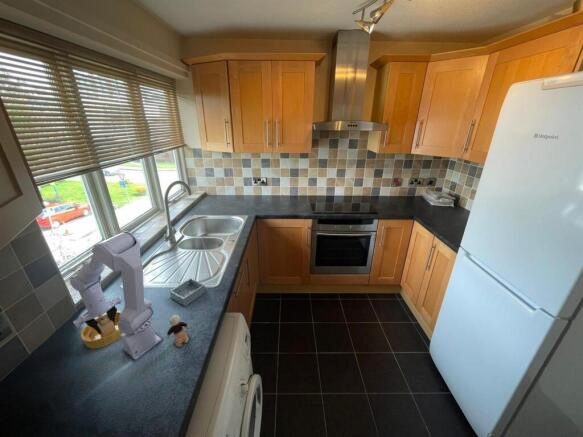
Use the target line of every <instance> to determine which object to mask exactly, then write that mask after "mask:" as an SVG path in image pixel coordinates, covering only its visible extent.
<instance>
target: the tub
mask: <svg viewBox="0 0 583 437" xmlns="http://www.w3.org/2000/svg"><path fill="white" fill-rule="evenodd" d="M206 292H207V290H206V285H205V284H203V283H201V282H199V281H198V280H196V279H194V278H191V277H189V279H187V280H185V281H184V282H182V283H180V284H179V285H177V286H175V287H173V288H172V289H170V290H169V294H170V298H171V299H172V300H174V301H176V302H177V303H178V304H181V305H182V306H184V307H186V306H188V305H190V304H191V303H192V302H193V301H195V300H197V299H198V298H200V296H202V295H203V294H205V293H206Z"/></svg>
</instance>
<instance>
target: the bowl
mask: <svg viewBox="0 0 583 437" xmlns="http://www.w3.org/2000/svg"><path fill="white" fill-rule="evenodd" d="M121 312H122V310H121V311H120V310H117V312H116V315H115V325H114V326H115V328H116V331H115V332H113V333H112V334H110V335H108V336H106V337H103V336H102V335H101V334H99V333H98V332H97V331H96V330H95V329H94V328H92V327H90V326H88V325H87V324H86V325H85V326H84V327H83V328H82V330H81V332H80V338H81V341H82V342H83V345H85V347H87V348H89V349H100V348H105V347H107V346H109V345H111V344H114V343H115V342H117V341H118V340H120V336H121V335H122V334H123V332H121V331H120V330H119V328H118V324H117V323H118V321H119V315H120V314H121ZM103 315H107V313H104V314H103ZM107 316H108V315H107ZM98 318H99V317H95V318H94V319H95V320H96V321H97V319H98Z"/></svg>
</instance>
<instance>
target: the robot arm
mask: <svg viewBox="0 0 583 437" xmlns="http://www.w3.org/2000/svg"><path fill="white" fill-rule="evenodd" d="M91 252H92V256H91V258H89V259H86V260H84V261H82V263H81V264H82V266H81V267H80V268H79V269H78V272H77V273H76V274H75V275H72V276H70V277H69V283H70V286H71V287H72V288H73V289H74V290H75V291H78V293H79V295H80V298H81V300H82V302H83V304H84V307H85V308H86V312H85V313H84V314H82V315H80V317H78V318H77V319H75V320H73V321H72V323H73V325H74V327H76V329H78V328H80V327H81V326H82V325H84V324H86V325H88V326H90V327H92V328H94V329H95V330H96V331H97V332H98V333H99V334H101V330H100V328H99V326H98V323H97V321H96V320H95V318H97V317H98V316H101V315H103V314H106V313H107V315H108V318H109V319H110V320H111V321H113V323H114V325H115V315H116V312H117V311H118V309H117V307H116V306H117V305H121V304H123V302H124V308H123V309H122V310H121V314H120V315H119V321H118V323H117V324H118V328H119V330H120V331H121V332H123V334H122V335H121V336H120V338H119V340H120V341H121V344H122V346H123V350H124V351H125V352H126V353H127V354H128V355H129V356H130V357H132V359H134V360H138V359H139V358H140V357H142V356H143V355H145V354H146V353H147V352H148V351H149V350H151V349H152V348H153V347H155V346H156V345H157V344H158V343H160V342H161V341H162V338H161V337H160V336H158V335H157V334H156V333H155V330H154V326H153V323H152V319H153V315H154V314H155V309H154V307H153V305H152V302H151V301H150V300H149V299H147V298H145V290H144V271H143V268H144V267H143V261H142V258H141V243H140V240H139V239H138V238H137V237H136V235H135V234H134V233H132V232H130V231H128V230H124V231H121V232H119V233H118V234H116V235H114V236H112V237H110V238H108V239H106V240H103V241H102V242H98V243H96V244H94V245H93V247H92V248H91ZM106 267H107V268H109V269H110V270H112V271H113V272H121V282H122V292H123V299H122V297H120V296H118V297H116V298H113V299H111V300H108V301H107V299H106V297H105V294H104V292H103V290H102V287H101V285H102V282H101V281H102V273H103V272H104V271H105V268H106Z"/></svg>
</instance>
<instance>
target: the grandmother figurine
mask: <svg viewBox="0 0 583 437" xmlns="http://www.w3.org/2000/svg"><path fill="white" fill-rule="evenodd" d="M169 324H170V326H171V327H170V328H168V331H167V332H166V333H167V334H166V339H170V337H171V335H172V334H173V337H174V341H175V346H176V347H177V348H180V347H182V346H183V344H187V343H188V342H189V336H187V333H186V331H185V328H186V329H187V330H189V329H190V325H189V324H188V323H186V322H183V321H181V317H180V315H178V314H175V315H172V316H171V317H170V319H169Z"/></svg>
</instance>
